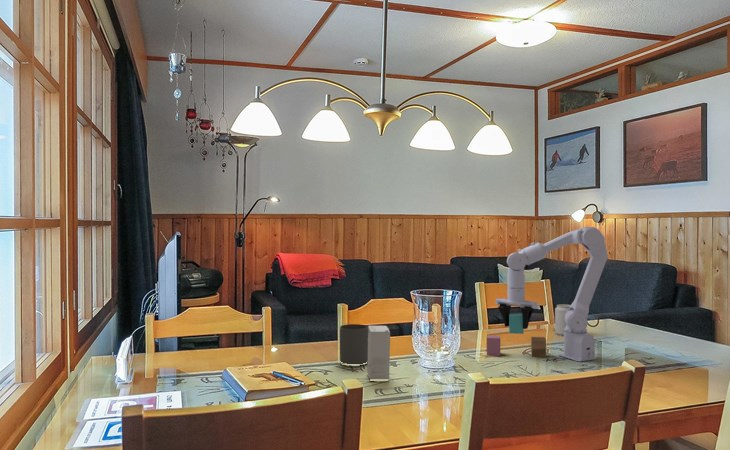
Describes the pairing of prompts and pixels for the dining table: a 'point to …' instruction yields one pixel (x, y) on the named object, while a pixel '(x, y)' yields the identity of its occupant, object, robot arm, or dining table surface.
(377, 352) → the skincare box
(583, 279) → the robot arm
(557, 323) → the can
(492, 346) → the plum block
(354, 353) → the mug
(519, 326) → the teal block
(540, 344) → the walnut block
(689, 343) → the dining table surface
